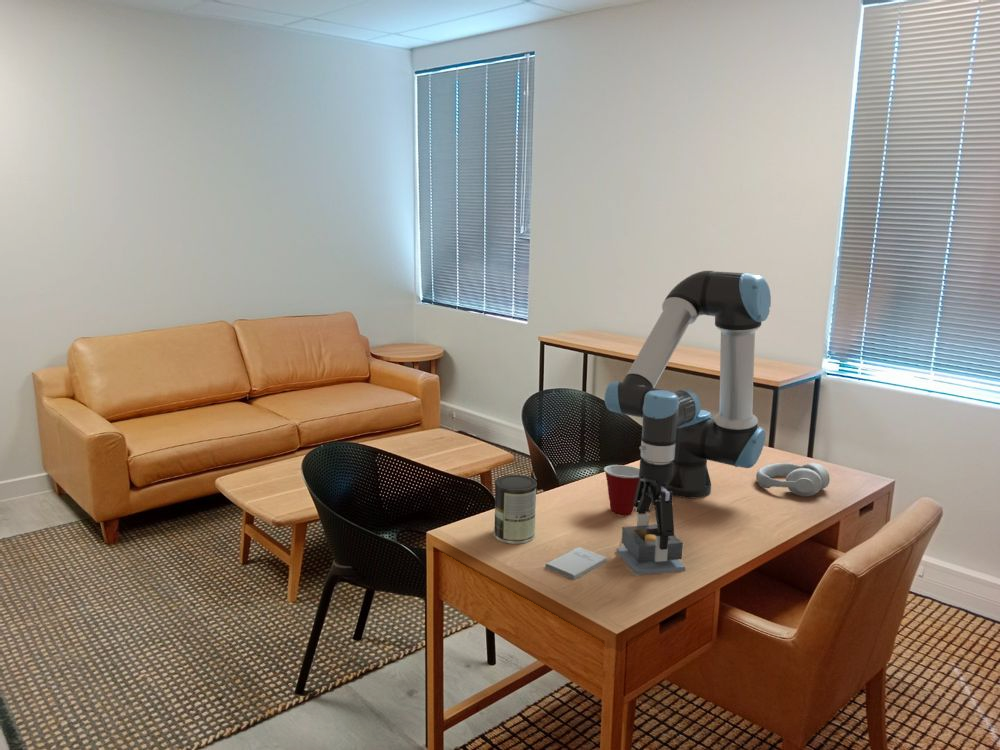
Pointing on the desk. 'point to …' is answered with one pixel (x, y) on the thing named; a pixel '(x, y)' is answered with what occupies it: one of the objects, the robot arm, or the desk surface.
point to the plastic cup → (622, 488)
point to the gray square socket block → (648, 543)
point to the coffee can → (515, 508)
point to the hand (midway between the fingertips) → (650, 549)
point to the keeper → (649, 566)
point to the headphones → (795, 477)
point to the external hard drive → (576, 563)
